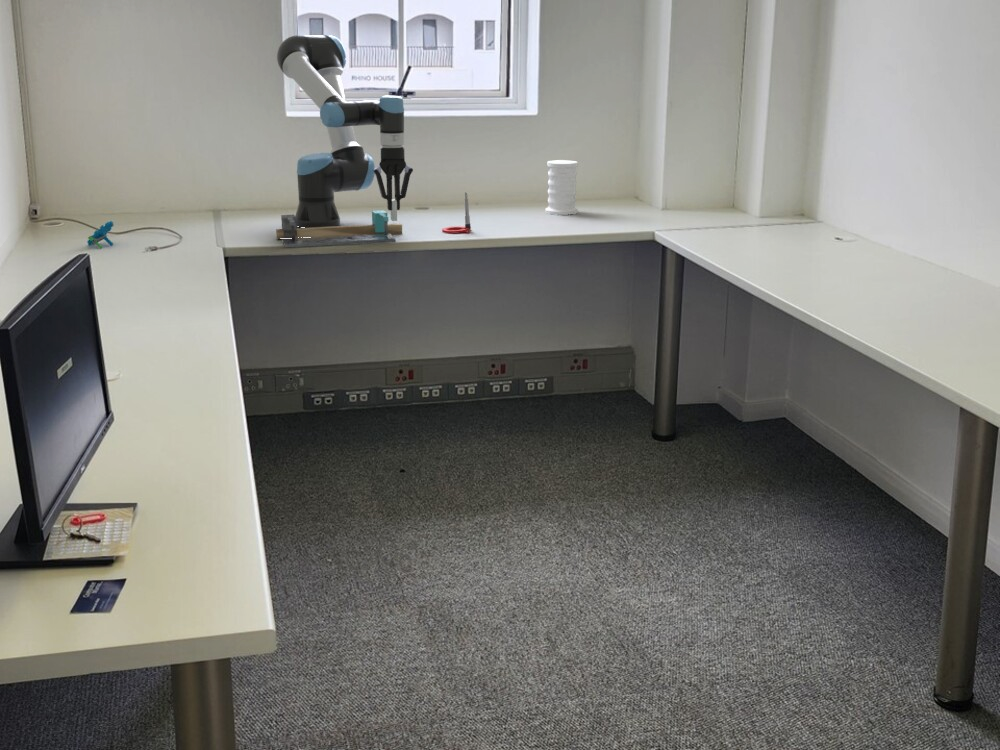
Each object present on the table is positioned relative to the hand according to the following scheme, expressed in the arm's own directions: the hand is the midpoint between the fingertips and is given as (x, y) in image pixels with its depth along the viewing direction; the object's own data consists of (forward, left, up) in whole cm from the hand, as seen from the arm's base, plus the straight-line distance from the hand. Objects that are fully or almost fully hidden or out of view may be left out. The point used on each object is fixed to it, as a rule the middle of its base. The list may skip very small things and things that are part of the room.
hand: (393, 220), depth 365 cm
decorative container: (-23, +66, -5) cm, 70 cm away
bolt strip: (+10, -20, -4) cm, 22 cm away
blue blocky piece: (-4, -90, -5) cm, 91 cm away
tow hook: (+2, +20, -5) cm, 21 cm away
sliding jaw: (+4, -5, -3) cm, 7 cm away
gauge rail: (+4, -18, -4) cm, 19 cm away
